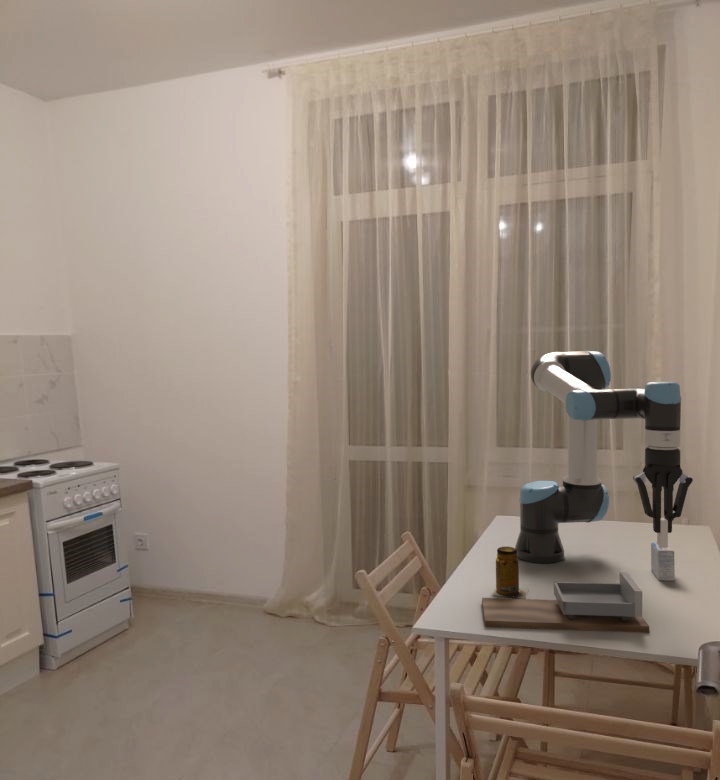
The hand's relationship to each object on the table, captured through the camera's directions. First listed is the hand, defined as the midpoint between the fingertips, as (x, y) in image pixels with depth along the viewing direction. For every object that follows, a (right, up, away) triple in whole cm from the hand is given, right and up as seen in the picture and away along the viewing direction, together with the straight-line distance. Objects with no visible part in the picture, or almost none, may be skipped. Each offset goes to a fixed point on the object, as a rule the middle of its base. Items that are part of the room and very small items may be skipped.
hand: (662, 545), depth 149 cm
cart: (-15, -17, +3) cm, 23 cm away
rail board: (-23, -19, +4) cm, 30 cm away
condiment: (-31, -18, +21) cm, 42 cm away
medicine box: (+15, -16, +30) cm, 37 cm away
